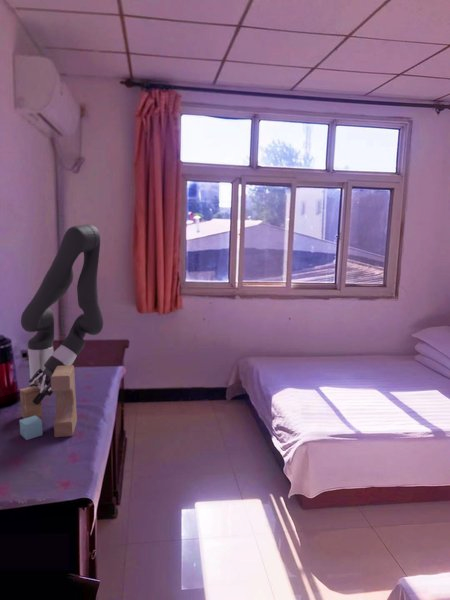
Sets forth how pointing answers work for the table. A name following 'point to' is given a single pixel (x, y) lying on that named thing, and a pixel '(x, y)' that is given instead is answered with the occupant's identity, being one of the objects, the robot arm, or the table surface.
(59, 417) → the decorative block
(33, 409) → the tan long block
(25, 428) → the teal cube
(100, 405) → the table surface
